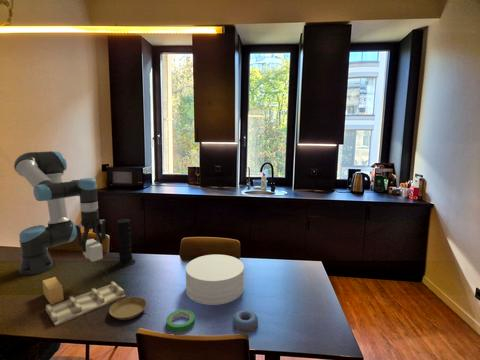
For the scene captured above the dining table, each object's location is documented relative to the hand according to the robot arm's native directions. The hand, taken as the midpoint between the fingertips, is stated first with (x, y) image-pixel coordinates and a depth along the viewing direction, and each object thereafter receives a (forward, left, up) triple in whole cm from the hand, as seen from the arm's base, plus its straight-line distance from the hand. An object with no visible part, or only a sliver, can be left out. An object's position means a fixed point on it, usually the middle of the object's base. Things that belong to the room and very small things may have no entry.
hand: (93, 255), depth 140 cm
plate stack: (+47, +39, -15) cm, 63 cm away
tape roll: (+57, +12, -15) cm, 60 cm away
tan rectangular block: (0, -18, -15) cm, 23 cm away
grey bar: (0, 0, 0) cm, 1 cm away
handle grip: (-11, +21, -15) cm, 28 cm away
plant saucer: (+35, +1, -15) cm, 38 cm away
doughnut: (+76, +29, -15) cm, 83 cm away
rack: (+16, -9, -14) cm, 23 cm away
